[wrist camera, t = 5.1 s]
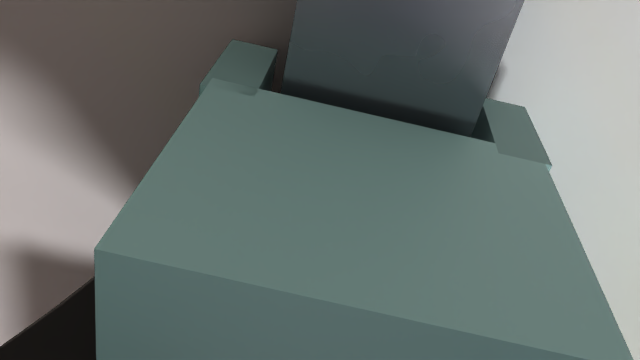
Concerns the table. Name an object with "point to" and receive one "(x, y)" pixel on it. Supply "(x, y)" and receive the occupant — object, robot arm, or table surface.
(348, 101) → the rail
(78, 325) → the robot arm
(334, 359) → the block
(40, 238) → the table surface
